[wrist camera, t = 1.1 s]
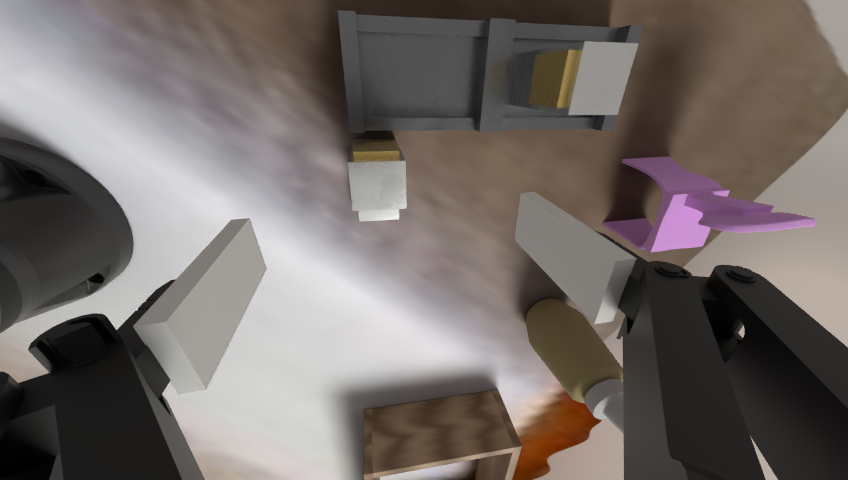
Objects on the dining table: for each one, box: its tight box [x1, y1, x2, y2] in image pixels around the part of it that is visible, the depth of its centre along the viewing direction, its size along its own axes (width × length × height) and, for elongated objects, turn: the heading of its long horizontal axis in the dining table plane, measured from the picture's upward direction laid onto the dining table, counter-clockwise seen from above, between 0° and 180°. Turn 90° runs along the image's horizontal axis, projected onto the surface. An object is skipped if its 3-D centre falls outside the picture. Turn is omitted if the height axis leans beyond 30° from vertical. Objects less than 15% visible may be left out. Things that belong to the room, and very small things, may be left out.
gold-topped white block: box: [348, 139, 406, 221], centre depth 26 cm, size 8×4×9 cm, turn 179°
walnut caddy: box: [364, 390, 522, 480], centre depth 52 cm, size 22×31×9 cm
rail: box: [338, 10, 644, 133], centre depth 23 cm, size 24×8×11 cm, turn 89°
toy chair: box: [603, 156, 816, 252], centre depth 30 cm, size 8×9×15 cm
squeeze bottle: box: [526, 298, 624, 434], centre depth 36 cm, size 8×8×18 cm
